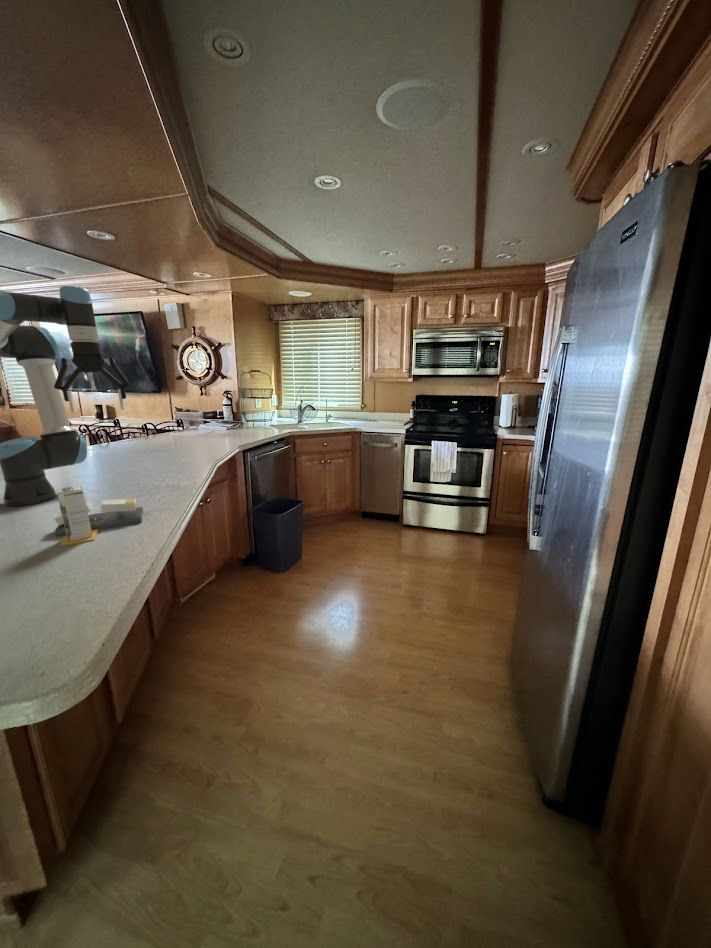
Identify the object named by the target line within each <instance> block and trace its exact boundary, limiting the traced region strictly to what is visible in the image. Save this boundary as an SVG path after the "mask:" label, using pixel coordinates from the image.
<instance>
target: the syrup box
mask: <svg viewBox="0 0 711 948" xmlns="http://www.w3.org/2000/svg"><path fill="white" fill-rule="evenodd" d="M56 495H57V497H58V504H59V509H60V513H61V514H62V518H63V522H64V526H65V530H66V535H67V538H68V541H69V542H72V541H76V540H80V539H83V538H87V537H91V536H93V535H92V530H91V526H90V521H89V516H88V515H89V512H87V507H86V502H85V501H86V497H85V493H84V490H83V488H82V486H81V485H72V486H71V485H70V486H65V487H61V488H57V489H56ZM66 535H65V536H66Z"/></svg>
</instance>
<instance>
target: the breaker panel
mask: <svg viewBox="0 0 711 948" xmlns="http://www.w3.org/2000/svg"><path fill="white" fill-rule="evenodd" d="M143 508H144V507H143V506H139V507H136V509H135V511H116V512H98V513H93V514H88V516H89V521H90V526H91V530H95V529H99V530H104V529H109V528H110V529H111V528H115V527H116V528H117V527H122V525H123V526H128V524H129V525H134V524H133V523H135V524H139V522H141V523H143V518H144V509H143ZM54 531H55V535H56V537H63V536H64V537H65V536H66V530H65V526H64V524H62V525H60V526H59V525H58V524H57V527H56V528H55V529H54Z"/></svg>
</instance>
